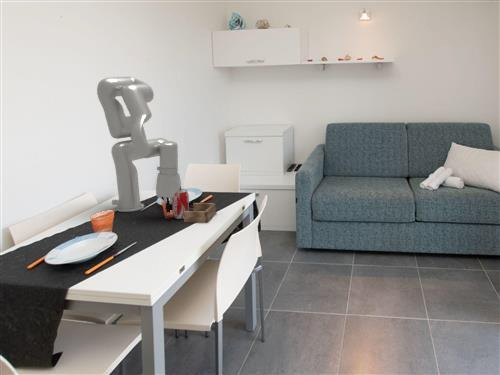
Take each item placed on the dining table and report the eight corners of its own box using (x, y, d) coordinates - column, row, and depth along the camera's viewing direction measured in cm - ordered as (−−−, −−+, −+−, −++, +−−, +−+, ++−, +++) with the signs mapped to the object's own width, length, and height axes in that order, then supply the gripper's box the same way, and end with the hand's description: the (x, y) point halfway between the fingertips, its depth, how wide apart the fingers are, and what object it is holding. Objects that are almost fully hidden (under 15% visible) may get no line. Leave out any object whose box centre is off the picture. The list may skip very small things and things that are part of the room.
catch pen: (184, 222, 210) (183, 211, 209) (194, 212, 224) (193, 203, 223) (207, 222, 208) (206, 212, 207) (216, 213, 222) (215, 203, 221)
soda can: (187, 220, 215) (187, 192, 211) (170, 219, 215) (170, 192, 212) (190, 214, 221) (189, 188, 218) (174, 214, 222) (173, 187, 218)
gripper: (148, 171, 212) (149, 212, 217) (182, 174, 208) (182, 216, 214) (156, 167, 219) (157, 207, 224) (188, 170, 215) (188, 210, 221)
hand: (169, 211), depth 219 cm, fingers closed
